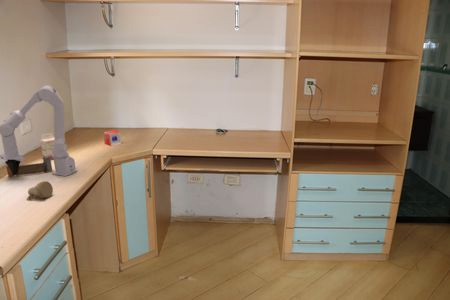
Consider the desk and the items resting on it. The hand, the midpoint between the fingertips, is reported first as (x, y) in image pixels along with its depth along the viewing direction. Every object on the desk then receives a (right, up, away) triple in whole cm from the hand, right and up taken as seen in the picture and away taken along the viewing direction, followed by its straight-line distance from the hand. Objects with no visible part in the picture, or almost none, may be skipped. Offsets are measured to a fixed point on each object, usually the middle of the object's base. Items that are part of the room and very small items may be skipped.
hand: (15, 173), depth 179 cm
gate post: (+12, +1, +10) cm, 15 cm away
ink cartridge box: (+4, +7, +30) cm, 31 cm away
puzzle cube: (+30, +16, +59) cm, 68 cm away
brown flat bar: (+4, 0, +5) cm, 6 cm away
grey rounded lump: (+23, -9, -22) cm, 33 cm away
